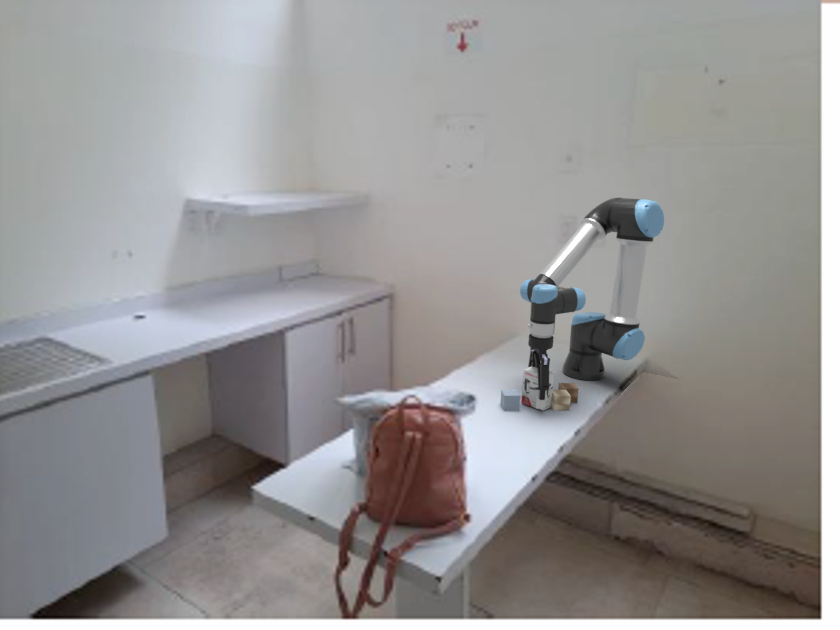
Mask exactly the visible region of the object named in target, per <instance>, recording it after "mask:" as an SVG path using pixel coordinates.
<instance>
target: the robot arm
mask: <svg viewBox="0 0 840 630" xmlns="http://www.w3.org/2000/svg"><path fill="white" fill-rule="evenodd" d="M664 224H665V213H664V210H663V208H662V207H661V205H660V204H659V202H657V201H655V200H649V199H646V198H627V197H626V198H625V197H613V198H609V199H607V200H605V201H603V202H601V203H600V204H598V205H597V206H595V207H594V208H593V209H591V210H590V211H589V212H588V213H587V214H586V215H585V216H584V217H583V218H582V220H581V221H580V226H579V227H578V229H576V231H575V232H574V234H572V236H571V237H570V238H569V239H568V241H567V242H566V243H565V244H564V245H563V246H562V247H561V248H560V250H558V252H557V253H556V254H555V256H553V258H552V259H550V261H549V262H548V263H547V264H546V266H545V267H544V268H543V269H542V270H541V272H539V274H538V275H537V276H536V278H535V279H532V278H531V279H526V280H524V281H523V282H522V284H521V286H520V288H519V289H520V290H519V294H520V297H521V298H522V299H523V300H524V301H526V302H528V303H530V317H529V319H530V320H529V323H528V324H527V327H528V328H529V334H528V343H527V344H528V346H529V349H530V352H529V358H528V364H527V365H528V366H527V368H528V367H531V366H532V367H536V368H537V372H538V388H536V390H537V397H536V408H535V409H536V410H539V409H545V401H546V390H549V371H550V363H551V362H550V361H551V358H550V357H549V354H548V353H547V351H548V350H550V349H551V350H552V348H553V347H554V338H555V337H554V336H553V335H555V327H556V315H561V314H568V313H574V312H577V311H581V310H582V309H583V308H584V307H585V305H586V303H587V302H586V299H587V297H586V294H585V292H584V290H582V289H581V288H580V287H572V286H571V287H569V288H568V287H562V286H560V285H561V284H562V283H563V282H564V280H565V279H566V278H567V277H568V276H569V274H570V273H571V272H572V271H573V270H574V269H575V268H576V267H577V266H578V264H579V263H580V262H581V261H582V259H583V258H584V257H585V256H586V254H588V252H590V250H591V249H592V248H593V247H594V246H595V244H596V243H597V242H598V241H599V240H603V239H605V237H607V235H608V234H610V233H616V238H615V239H616V241H617V242H618V244H619V250H618V255H617V263H616V269H615V277H614V282H613V283H614V284H613V289H612V296H611V303H610V309H609V312H608V314H606V313H602V312H593V311H591V312H589V311H588V312H585V311H584V312H579V313H576V314H574V315H573V317H572V322H571V323H570V325H571V326H570V336H569V337H570V339H569V350H568V354H567V356H566V358H565V361H564V363H563V364H562V373H563V374H564V375H566V376H567V377H569V378H573V379H578V380H583V381H598V380H601V379H603V378H605V374H606V369H605V364H604V360H603V359H604V358H603V355H604V354H605V355H606V356H611V357H613V358H615V359H617V360H618V359H619V360H623V361H630V360H633V359H634V358H635V357H636V356H638V354H640V353H641V351H642V348H644V347H643V346H644V344H645V339H646V337H645V333H644V331H643V330H642V328H640V323H641V322H640V320H639V319H638V318H637V311H638V305H639V299H640V292H641V286H642V281H643V275H644V267H645V261H646V256H647V250H648V249H647V248H648V247H649V246H650V245H651V244H652V243H653V242H654V238H656V237H658V236H659V235H660V234H661V231H663V229H664ZM602 354H603V355H602Z"/></svg>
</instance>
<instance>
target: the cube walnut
mask: <svg viewBox="0 0 840 630" xmlns="http://www.w3.org/2000/svg"><path fill="white" fill-rule="evenodd" d="M557 390H567V392H568V393H569V394H570V395H571V400H570V404H576V403H577V404H578V399H579V398H578V397H579V387H578V386H577V385H576V384H575V383H574V382H559V383H558V388H557Z"/></svg>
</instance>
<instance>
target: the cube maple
mask: <svg viewBox="0 0 840 630" xmlns="http://www.w3.org/2000/svg"><path fill="white" fill-rule="evenodd" d="M570 400H571V395H570V394H569V393H568V392H567V390H558V389H553V390H552V400H551V407H550V408H551V409H552V410H553V411H571V410H570V409H571V403H570Z"/></svg>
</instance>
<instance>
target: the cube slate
mask: <svg viewBox="0 0 840 630" xmlns="http://www.w3.org/2000/svg"><path fill="white" fill-rule="evenodd" d="M520 404H521V394H520V393H519V391H518V389H501V390H500V406H501V408H502V410H503V411H520V409H521V408H520V406H521V405H520Z"/></svg>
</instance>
